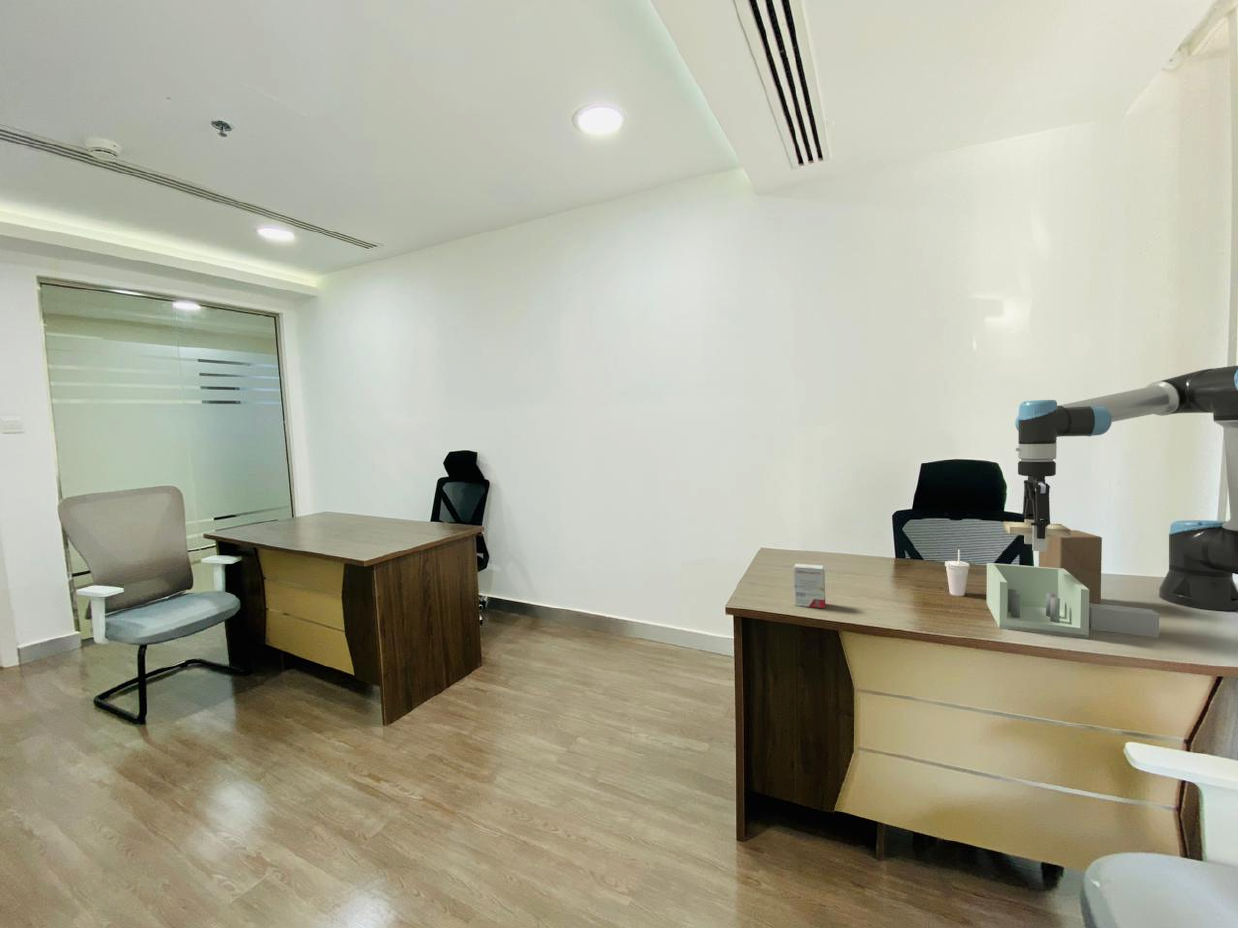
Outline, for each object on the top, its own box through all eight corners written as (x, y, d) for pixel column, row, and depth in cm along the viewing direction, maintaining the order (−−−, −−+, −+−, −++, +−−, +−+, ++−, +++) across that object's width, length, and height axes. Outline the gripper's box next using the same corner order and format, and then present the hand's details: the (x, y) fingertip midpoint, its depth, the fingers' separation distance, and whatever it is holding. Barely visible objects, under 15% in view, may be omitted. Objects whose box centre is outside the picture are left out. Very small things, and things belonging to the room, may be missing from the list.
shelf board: (1060, 531, 129) (1060, 524, 129) (1070, 537, 122) (1070, 529, 122) (1003, 528, 135) (1003, 521, 135) (1009, 534, 128) (1009, 526, 128)
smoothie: (962, 598, 148) (962, 552, 147) (940, 593, 154) (940, 548, 153) (974, 594, 151) (974, 549, 150) (952, 589, 157) (952, 545, 156)
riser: (1151, 631, 121) (1151, 609, 121) (1158, 637, 117) (1159, 614, 117) (1085, 623, 127) (1086, 602, 126) (1091, 629, 123) (1091, 607, 123)
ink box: (825, 603, 148) (825, 564, 148) (825, 608, 144) (824, 569, 143) (795, 600, 152) (794, 562, 151) (793, 605, 147) (793, 566, 147)
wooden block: (1101, 608, 137) (1102, 536, 136) (1059, 606, 139) (1060, 536, 138) (1076, 596, 147) (1077, 529, 146) (1037, 595, 149) (1038, 529, 148)
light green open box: (1063, 611, 135) (1063, 568, 135) (1088, 639, 118) (1089, 589, 117) (986, 603, 143) (986, 562, 143) (999, 627, 126) (999, 581, 125)
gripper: (1009, 458, 139) (1008, 538, 140) (1027, 462, 120) (1026, 555, 122) (1044, 458, 135) (1042, 540, 136) (1068, 462, 117) (1066, 557, 118)
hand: (1035, 547), depth 129 cm, fingers closed on shelf board, 8 cm apart
